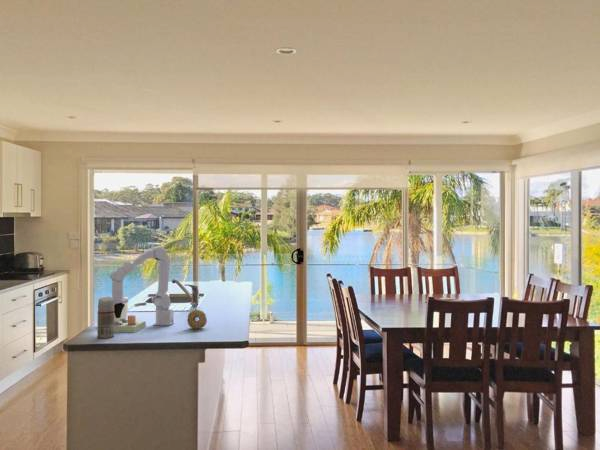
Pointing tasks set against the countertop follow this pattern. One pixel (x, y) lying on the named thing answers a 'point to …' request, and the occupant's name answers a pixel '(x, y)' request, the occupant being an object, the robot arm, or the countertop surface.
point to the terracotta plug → (131, 320)
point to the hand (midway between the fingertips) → (118, 317)
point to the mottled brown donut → (200, 322)
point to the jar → (124, 311)
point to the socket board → (130, 327)
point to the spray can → (105, 318)
